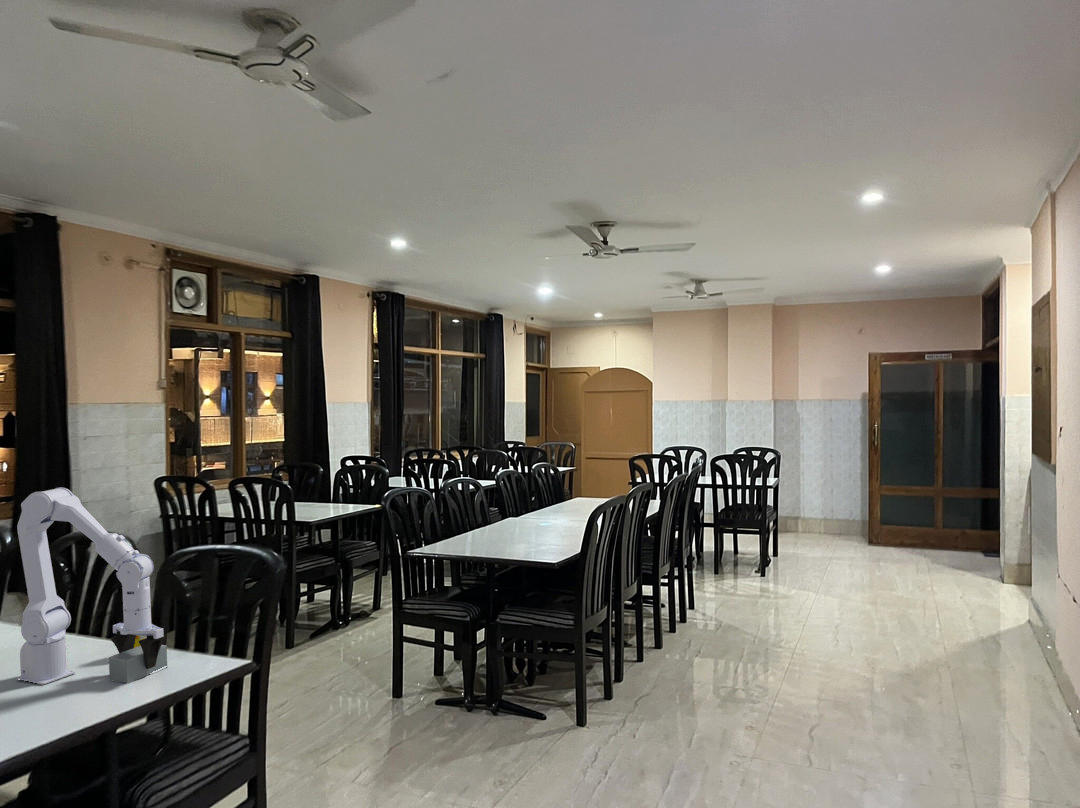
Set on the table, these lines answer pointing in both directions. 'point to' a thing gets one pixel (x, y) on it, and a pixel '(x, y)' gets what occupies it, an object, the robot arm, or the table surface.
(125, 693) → the table surface
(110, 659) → the grey rectangular block
